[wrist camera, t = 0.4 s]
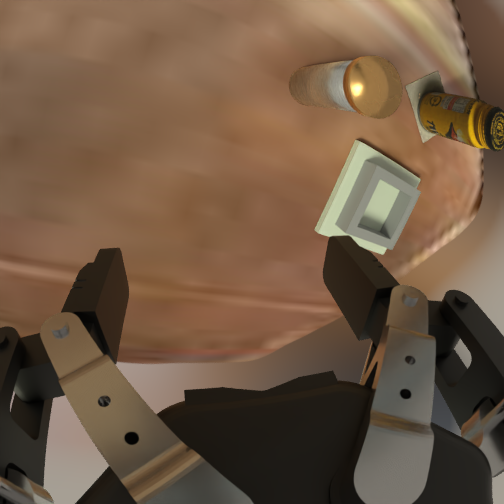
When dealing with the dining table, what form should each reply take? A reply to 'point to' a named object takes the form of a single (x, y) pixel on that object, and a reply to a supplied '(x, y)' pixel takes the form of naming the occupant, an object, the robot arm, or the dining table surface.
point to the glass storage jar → (350, 86)
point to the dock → (370, 200)
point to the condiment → (455, 115)
